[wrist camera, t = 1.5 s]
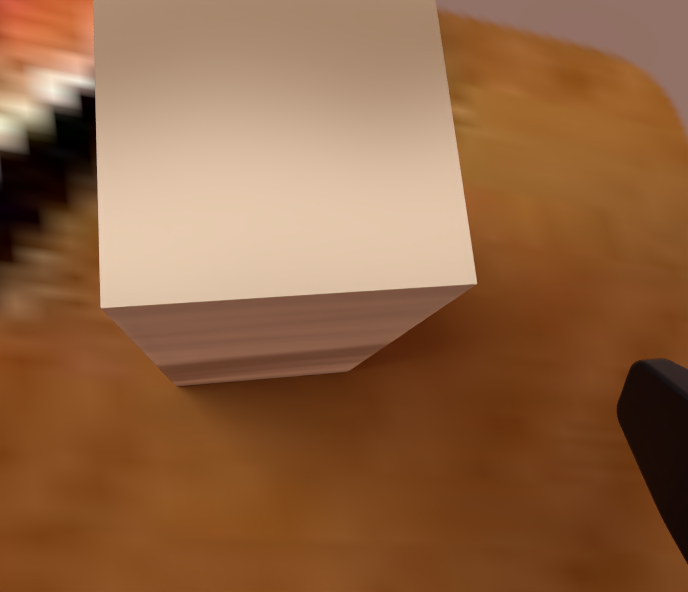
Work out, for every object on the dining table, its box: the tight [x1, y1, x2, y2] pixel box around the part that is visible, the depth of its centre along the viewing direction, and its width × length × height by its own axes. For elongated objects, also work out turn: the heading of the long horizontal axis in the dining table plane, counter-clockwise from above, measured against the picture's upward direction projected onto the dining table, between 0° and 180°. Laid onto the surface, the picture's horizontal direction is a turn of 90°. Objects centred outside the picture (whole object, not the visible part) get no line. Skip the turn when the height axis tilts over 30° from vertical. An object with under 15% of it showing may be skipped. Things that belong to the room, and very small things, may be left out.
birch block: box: [93, 0, 477, 386], centre depth 15 cm, size 5×5×11 cm
